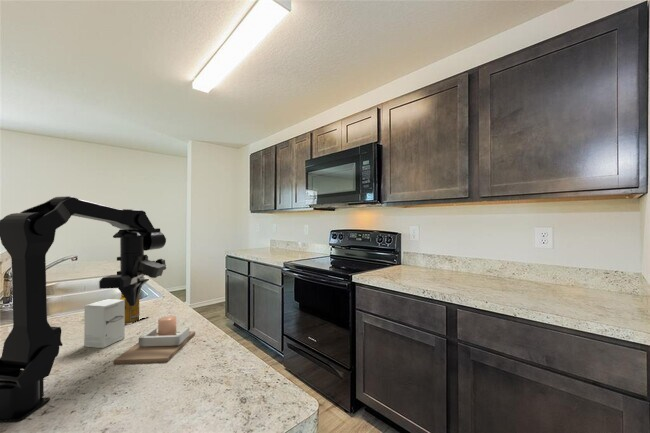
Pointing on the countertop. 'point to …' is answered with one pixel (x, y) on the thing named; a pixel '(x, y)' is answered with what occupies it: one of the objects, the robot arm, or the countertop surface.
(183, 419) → the countertop surface
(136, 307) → the condiment
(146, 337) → the frame
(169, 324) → the stub
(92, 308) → the supplement box
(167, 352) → the board
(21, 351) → the robot arm
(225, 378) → the countertop surface
